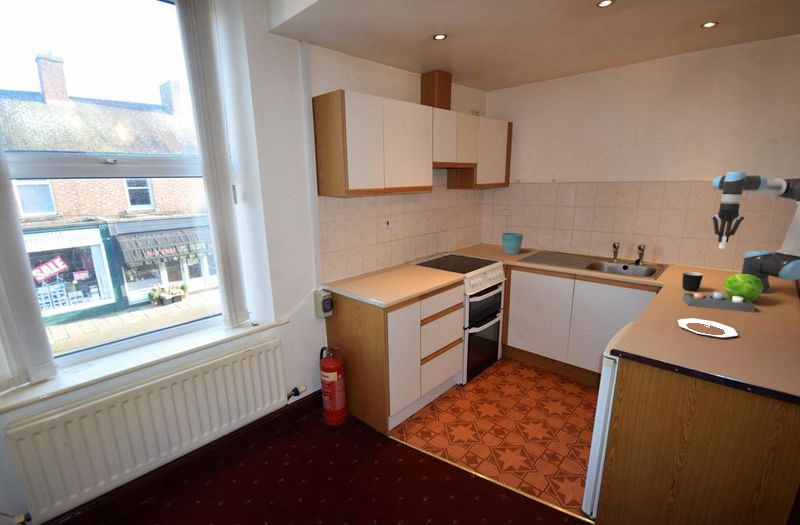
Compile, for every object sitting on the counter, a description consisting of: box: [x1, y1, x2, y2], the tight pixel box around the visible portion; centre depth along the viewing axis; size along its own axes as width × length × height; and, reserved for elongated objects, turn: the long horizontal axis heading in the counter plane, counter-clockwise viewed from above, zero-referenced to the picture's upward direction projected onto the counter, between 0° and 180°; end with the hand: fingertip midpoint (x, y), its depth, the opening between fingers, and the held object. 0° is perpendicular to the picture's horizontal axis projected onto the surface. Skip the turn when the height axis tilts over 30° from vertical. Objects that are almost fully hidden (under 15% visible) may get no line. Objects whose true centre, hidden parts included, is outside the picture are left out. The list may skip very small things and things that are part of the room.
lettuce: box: [722, 273, 763, 302], centre depth 196 cm, size 15×23×16 cm
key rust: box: [693, 291, 705, 298], centre depth 192 cm, size 4×4×4 cm
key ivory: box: [732, 296, 743, 302], centre depth 186 cm, size 4×4×4 cm
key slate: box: [712, 291, 725, 300], centre depth 188 cm, size 4×4×4 cm
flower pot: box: [501, 232, 524, 255], centre depth 324 cm, size 18×18×17 cm
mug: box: [681, 271, 704, 293], centre depth 216 cm, size 12×9×10 cm
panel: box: [682, 292, 755, 313], centre depth 189 cm, size 26×10×4 cm, turn 66°
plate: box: [677, 317, 739, 339], centre depth 161 cm, size 20×20×2 cm
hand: (721, 248), depth 192 cm, fingers closed
